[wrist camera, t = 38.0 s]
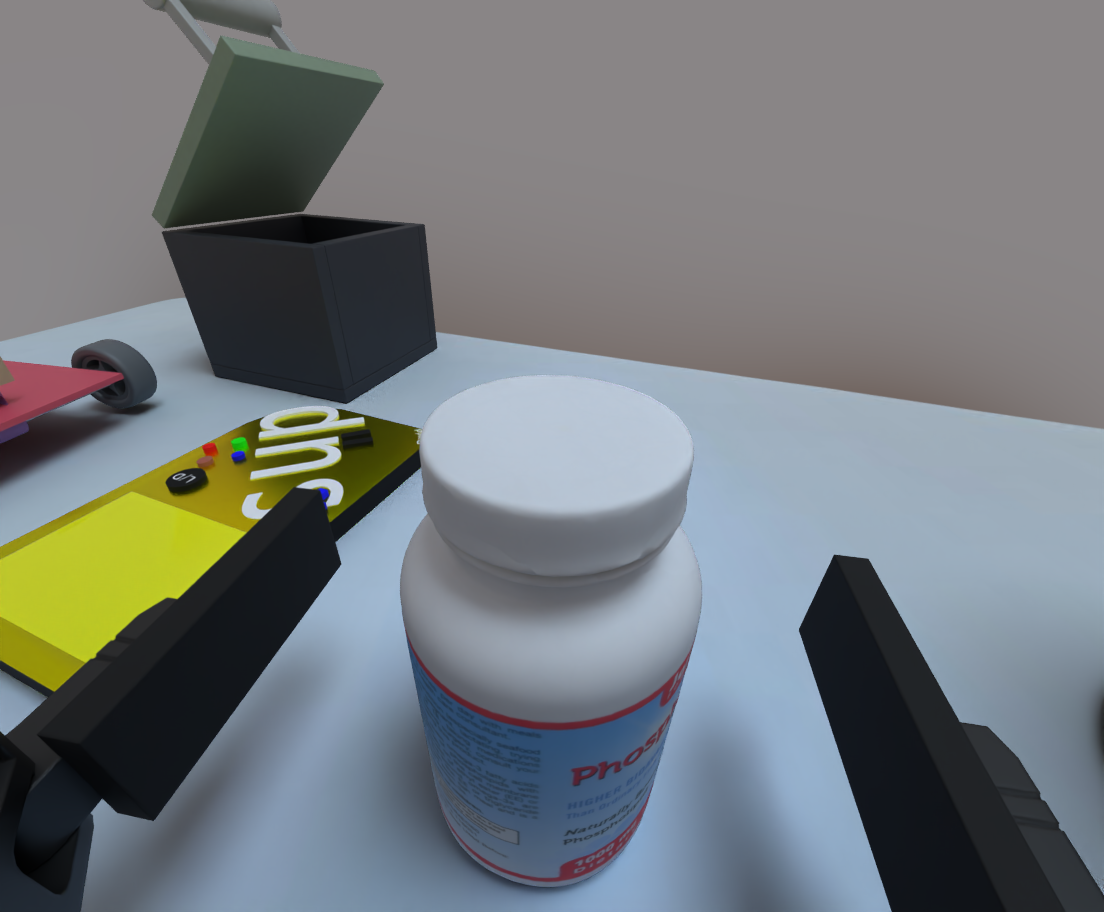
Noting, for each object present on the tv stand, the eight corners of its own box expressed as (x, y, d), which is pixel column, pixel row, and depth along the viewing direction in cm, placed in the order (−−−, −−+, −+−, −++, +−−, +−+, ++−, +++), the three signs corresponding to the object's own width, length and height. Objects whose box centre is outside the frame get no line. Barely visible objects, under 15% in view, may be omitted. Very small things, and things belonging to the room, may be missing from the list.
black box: (437, 348, 43) (424, 224, 37) (346, 403, 33) (312, 247, 28) (327, 330, 46) (300, 213, 40) (215, 376, 36) (160, 231, 31)
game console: (123, 739, 14) (99, 711, 13) (-91, 625, 17) (-120, 597, 17) (442, 447, 29) (439, 425, 28) (294, 413, 32) (288, 393, 31)
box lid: (384, 84, 33) (301, -32, 31) (235, 54, 24) (102, -114, 22) (303, 211, 40) (231, 123, 38) (163, 228, 31) (58, 112, 29)
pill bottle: (612, 952, 11) (724, 626, 5) (392, 822, 13) (270, 474, 7) (667, 709, 16) (759, 392, 9) (501, 642, 17) (488, 342, 11)
